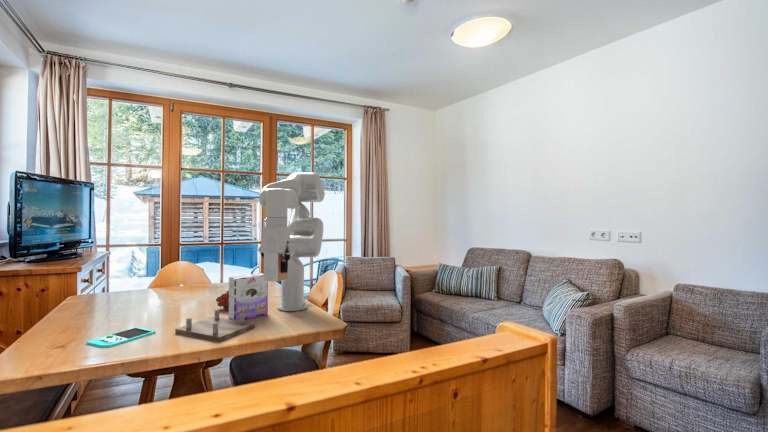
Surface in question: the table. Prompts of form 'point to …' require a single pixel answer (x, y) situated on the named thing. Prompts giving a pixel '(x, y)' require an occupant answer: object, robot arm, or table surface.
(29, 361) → the table surface
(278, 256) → the small box
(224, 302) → the dragon fruit
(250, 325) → the peg board
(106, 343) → the handheld game console
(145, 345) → the table surface
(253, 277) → the candy box
